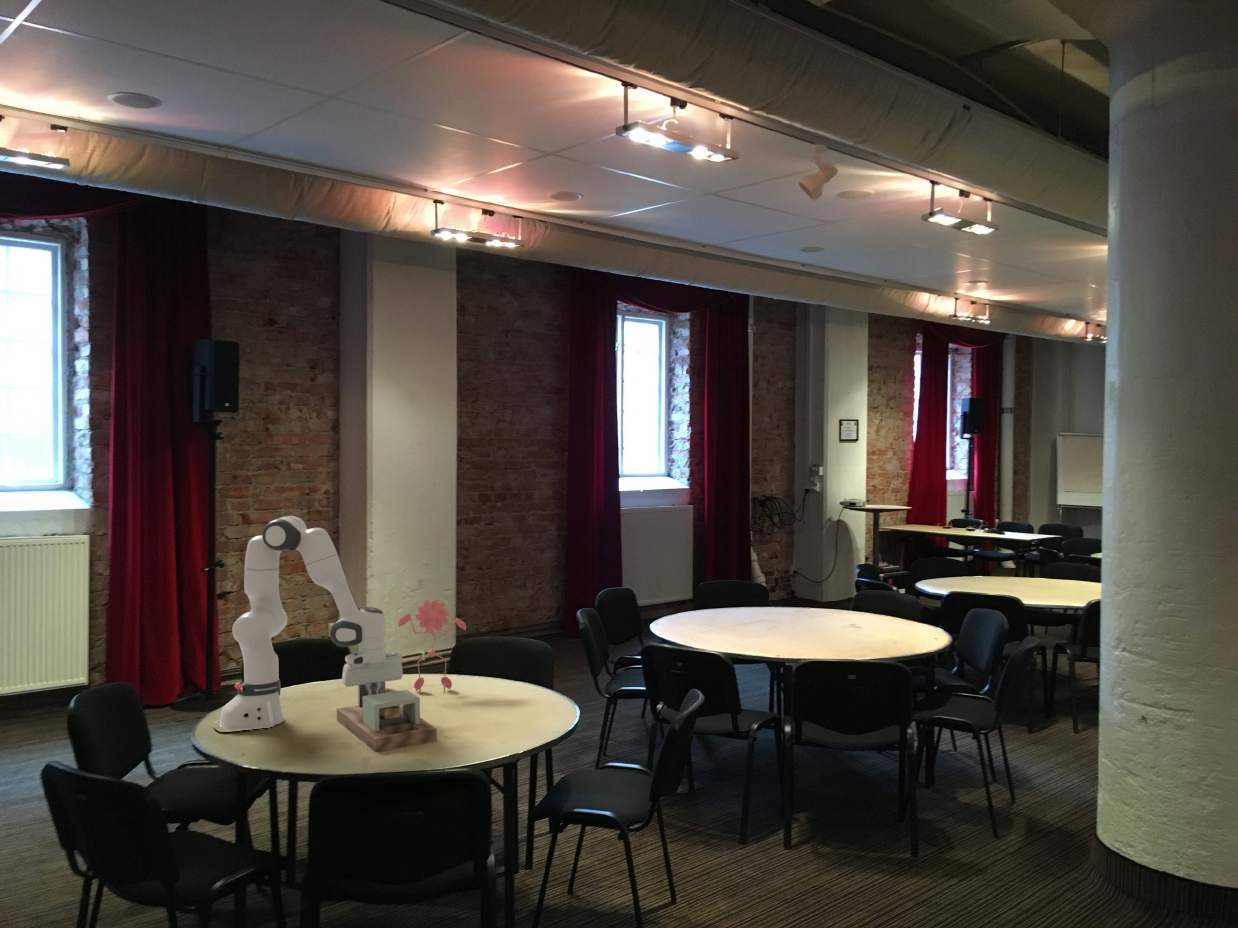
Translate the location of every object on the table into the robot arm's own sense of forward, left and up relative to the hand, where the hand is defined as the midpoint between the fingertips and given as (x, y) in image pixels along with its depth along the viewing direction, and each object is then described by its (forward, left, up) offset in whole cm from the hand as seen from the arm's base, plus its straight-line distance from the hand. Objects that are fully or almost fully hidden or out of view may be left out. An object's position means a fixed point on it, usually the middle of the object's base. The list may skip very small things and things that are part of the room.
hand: (373, 695), depth 329 cm
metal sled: (0, -9, -5) cm, 10 cm away
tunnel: (0, -18, -5) cm, 18 cm away
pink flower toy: (+33, +29, -9) cm, 45 cm away
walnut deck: (0, -11, -9) cm, 14 cm away
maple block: (0, -16, -5) cm, 17 cm away
